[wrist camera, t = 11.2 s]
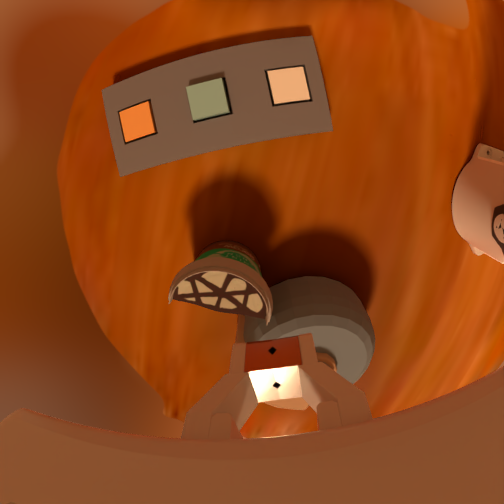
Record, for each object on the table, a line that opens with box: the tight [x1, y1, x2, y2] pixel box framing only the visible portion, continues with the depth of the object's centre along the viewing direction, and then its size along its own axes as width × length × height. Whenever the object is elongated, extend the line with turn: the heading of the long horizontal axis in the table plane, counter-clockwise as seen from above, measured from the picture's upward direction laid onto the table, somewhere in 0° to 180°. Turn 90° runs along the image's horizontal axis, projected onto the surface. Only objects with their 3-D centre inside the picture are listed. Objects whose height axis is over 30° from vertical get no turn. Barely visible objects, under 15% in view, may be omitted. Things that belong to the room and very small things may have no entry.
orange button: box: [119, 101, 158, 142], centre depth 30 cm, size 4×4×2 cm
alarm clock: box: [235, 276, 375, 410], centre depth 38 cm, size 19×20×12 cm
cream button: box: [267, 67, 310, 105], centre depth 28 cm, size 4×4×2 cm
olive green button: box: [186, 78, 231, 121], centre depth 28 cm, size 4×4×2 cm
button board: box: [102, 36, 333, 177], centre depth 29 cm, size 26×12×3 cm, turn 101°
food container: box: [168, 241, 273, 325], centre depth 34 cm, size 12×6×10 cm, turn 77°
